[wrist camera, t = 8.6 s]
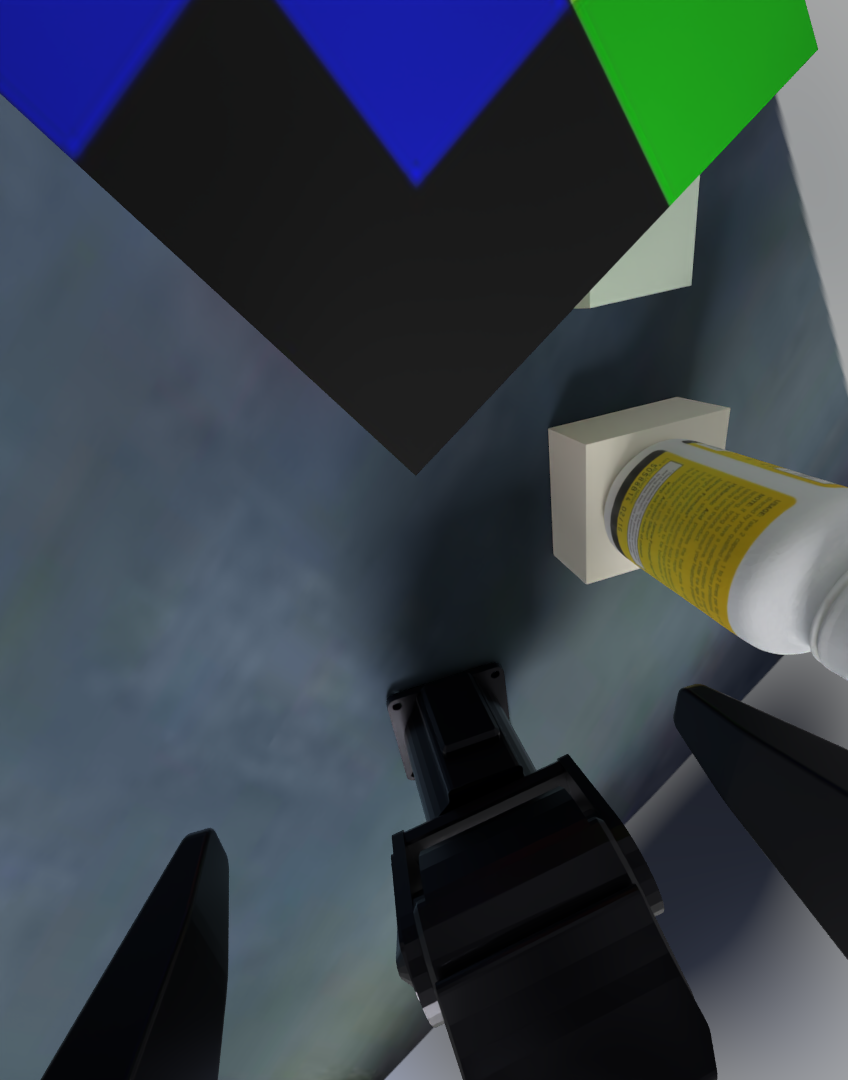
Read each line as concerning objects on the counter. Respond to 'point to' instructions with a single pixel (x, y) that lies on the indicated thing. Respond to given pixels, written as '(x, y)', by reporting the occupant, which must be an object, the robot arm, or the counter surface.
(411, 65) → the puzzle toy
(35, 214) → the counter surface
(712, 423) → the base brick
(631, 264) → the brick
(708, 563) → the supplement bottle
